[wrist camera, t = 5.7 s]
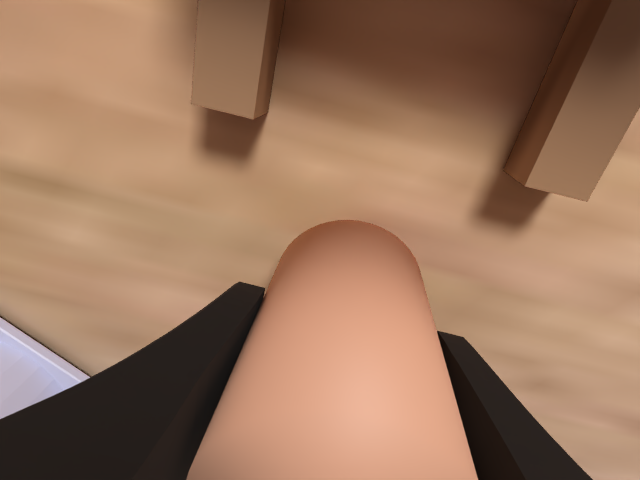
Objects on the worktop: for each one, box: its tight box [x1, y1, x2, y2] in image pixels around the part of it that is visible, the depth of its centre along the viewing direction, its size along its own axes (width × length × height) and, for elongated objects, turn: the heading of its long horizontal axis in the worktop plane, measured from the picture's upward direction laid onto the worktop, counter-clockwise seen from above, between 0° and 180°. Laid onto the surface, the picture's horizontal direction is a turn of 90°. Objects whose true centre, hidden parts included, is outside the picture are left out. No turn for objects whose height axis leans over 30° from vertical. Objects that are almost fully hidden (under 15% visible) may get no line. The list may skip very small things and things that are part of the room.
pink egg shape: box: [186, 220, 478, 480], centre depth 8 cm, size 4×4×6 cm
